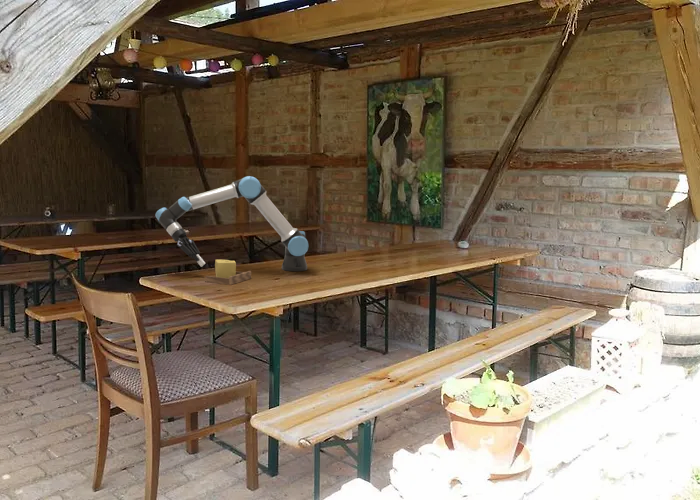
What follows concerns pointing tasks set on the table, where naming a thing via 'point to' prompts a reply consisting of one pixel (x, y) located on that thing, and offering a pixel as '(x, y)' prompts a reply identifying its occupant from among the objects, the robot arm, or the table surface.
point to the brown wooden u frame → (231, 280)
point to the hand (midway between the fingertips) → (203, 264)
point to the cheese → (225, 268)
